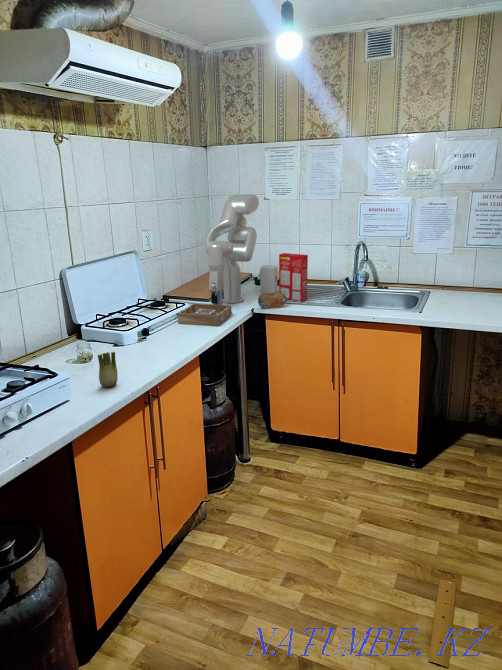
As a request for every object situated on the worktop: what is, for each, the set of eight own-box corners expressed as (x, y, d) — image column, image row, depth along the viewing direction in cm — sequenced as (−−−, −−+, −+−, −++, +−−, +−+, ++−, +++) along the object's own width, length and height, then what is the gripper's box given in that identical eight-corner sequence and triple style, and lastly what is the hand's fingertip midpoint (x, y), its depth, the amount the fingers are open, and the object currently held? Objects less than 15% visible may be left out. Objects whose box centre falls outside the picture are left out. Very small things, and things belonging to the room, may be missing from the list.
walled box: (194, 313, 263) (193, 303, 262) (231, 315, 258) (231, 305, 256) (178, 323, 245) (177, 313, 243) (218, 326, 239) (217, 316, 238)
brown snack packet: (259, 309, 268) (258, 293, 265) (257, 308, 270) (257, 292, 268) (286, 307, 271) (286, 291, 269) (284, 306, 274) (284, 290, 272)
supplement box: (275, 293, 302) (274, 268, 298) (260, 293, 304) (259, 267, 300) (277, 290, 311) (277, 265, 306) (263, 289, 313) (263, 265, 308)
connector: (215, 309, 270) (214, 286, 267) (222, 309, 269) (222, 286, 266) (213, 311, 267) (212, 288, 263) (220, 311, 265) (219, 288, 262)
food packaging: (306, 300, 285) (307, 254, 278) (302, 302, 281) (303, 256, 274) (283, 297, 293) (284, 253, 286) (279, 299, 289) (279, 254, 282)
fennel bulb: (118, 382, 177) (115, 349, 173) (117, 388, 172) (114, 354, 169) (101, 384, 176) (97, 350, 172) (99, 389, 171) (95, 355, 168)
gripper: (215, 265, 270) (216, 297, 275) (203, 270, 254) (204, 304, 259) (229, 265, 268) (229, 297, 273) (217, 271, 252) (218, 305, 257)
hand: (217, 301), depth 266 cm, fingers open, 9 cm apart
